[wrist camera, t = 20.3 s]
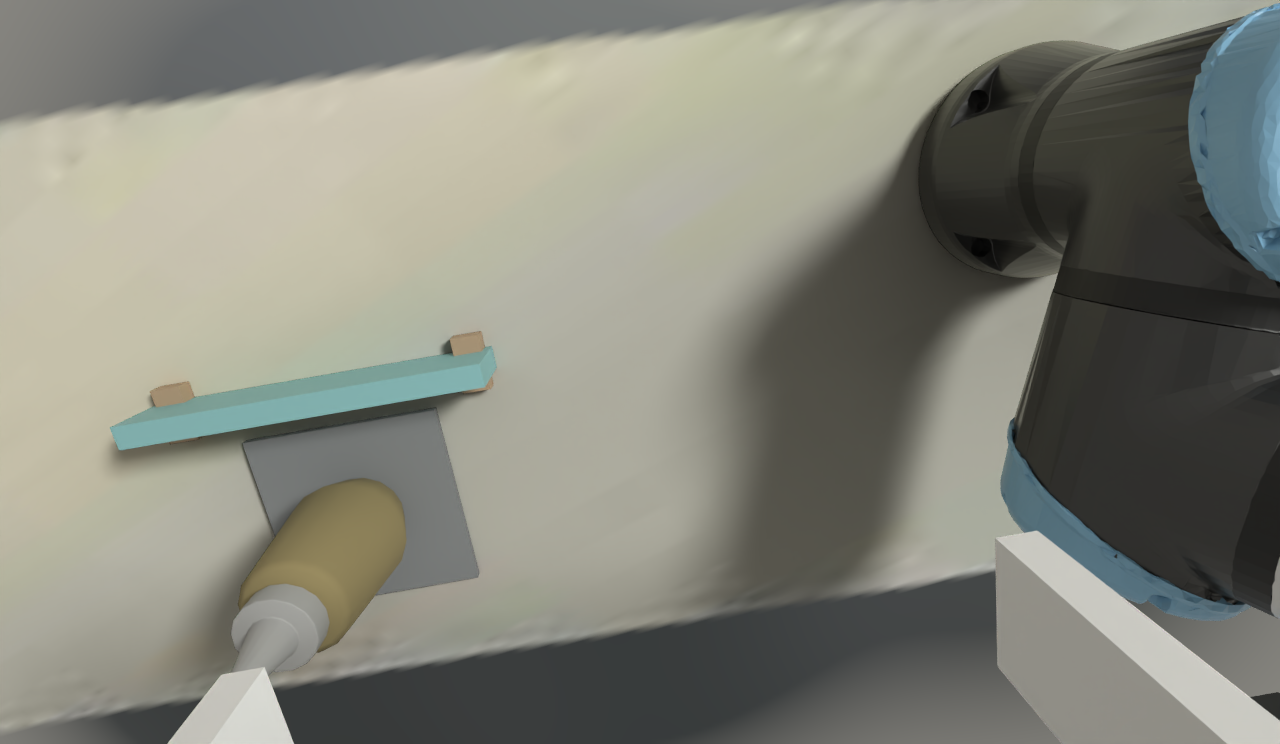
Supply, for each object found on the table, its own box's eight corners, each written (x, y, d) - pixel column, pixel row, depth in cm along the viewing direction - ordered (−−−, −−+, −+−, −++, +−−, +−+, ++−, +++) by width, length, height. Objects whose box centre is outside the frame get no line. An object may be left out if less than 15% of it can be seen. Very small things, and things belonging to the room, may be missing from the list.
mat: (246, 440, 48) (242, 443, 48) (435, 407, 48) (434, 410, 48) (303, 603, 52) (300, 608, 52) (479, 572, 52) (478, 577, 52)
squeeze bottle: (395, 449, 48) (281, 594, 31) (436, 543, 51) (350, 727, 33) (291, 480, 49) (120, 641, 31) (336, 572, 51) (199, 770, 34)
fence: (153, 387, 47) (102, 410, 42) (487, 330, 47) (475, 346, 42) (173, 439, 48) (125, 467, 43) (500, 382, 48) (489, 404, 43)
